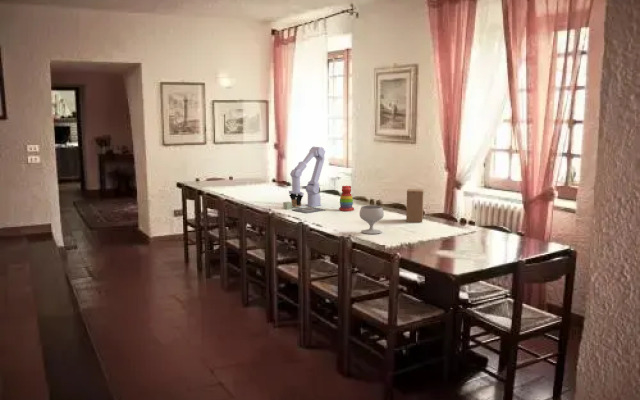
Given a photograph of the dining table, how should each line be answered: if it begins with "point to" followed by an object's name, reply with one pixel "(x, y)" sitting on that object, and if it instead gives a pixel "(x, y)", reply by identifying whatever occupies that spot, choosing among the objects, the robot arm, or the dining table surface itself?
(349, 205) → the stacking bear
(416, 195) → the wooden block
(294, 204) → the walnut block
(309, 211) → the blueprint board
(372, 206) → the chalice
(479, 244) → the dining table surface
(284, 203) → the sage block
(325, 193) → the dining table surface
